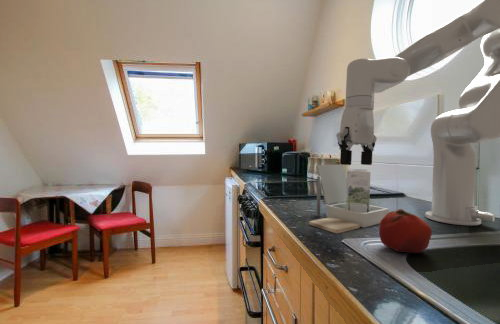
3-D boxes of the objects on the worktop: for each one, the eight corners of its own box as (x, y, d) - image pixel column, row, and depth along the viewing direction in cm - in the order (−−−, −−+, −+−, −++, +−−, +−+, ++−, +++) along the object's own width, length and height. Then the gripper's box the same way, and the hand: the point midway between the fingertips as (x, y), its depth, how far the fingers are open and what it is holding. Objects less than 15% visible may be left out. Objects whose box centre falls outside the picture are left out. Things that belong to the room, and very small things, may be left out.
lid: (342, 164, 84) (340, 165, 85) (318, 165, 77) (315, 165, 78) (351, 200, 81) (349, 200, 82) (326, 203, 75) (324, 204, 75)
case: (388, 221, 71) (390, 179, 71) (359, 228, 64) (360, 181, 63) (344, 210, 84) (345, 174, 83) (315, 216, 76) (316, 176, 76)
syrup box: (366, 217, 75) (367, 169, 74) (369, 222, 69) (370, 170, 69) (345, 215, 77) (346, 168, 76) (347, 220, 71) (348, 170, 70)
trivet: (359, 227, 65) (359, 224, 65) (336, 233, 60) (336, 230, 60) (331, 219, 72) (331, 216, 72) (309, 224, 67) (309, 221, 67)
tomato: (413, 242, 54) (414, 206, 54) (443, 261, 45) (444, 217, 45) (369, 241, 55) (370, 205, 55) (389, 259, 46) (391, 215, 45)
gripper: (364, 110, 80) (362, 164, 80) (328, 103, 70) (325, 163, 71) (388, 107, 73) (385, 165, 74) (352, 98, 64) (348, 165, 65)
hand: (356, 164), depth 72 cm, fingers open, 9 cm apart
